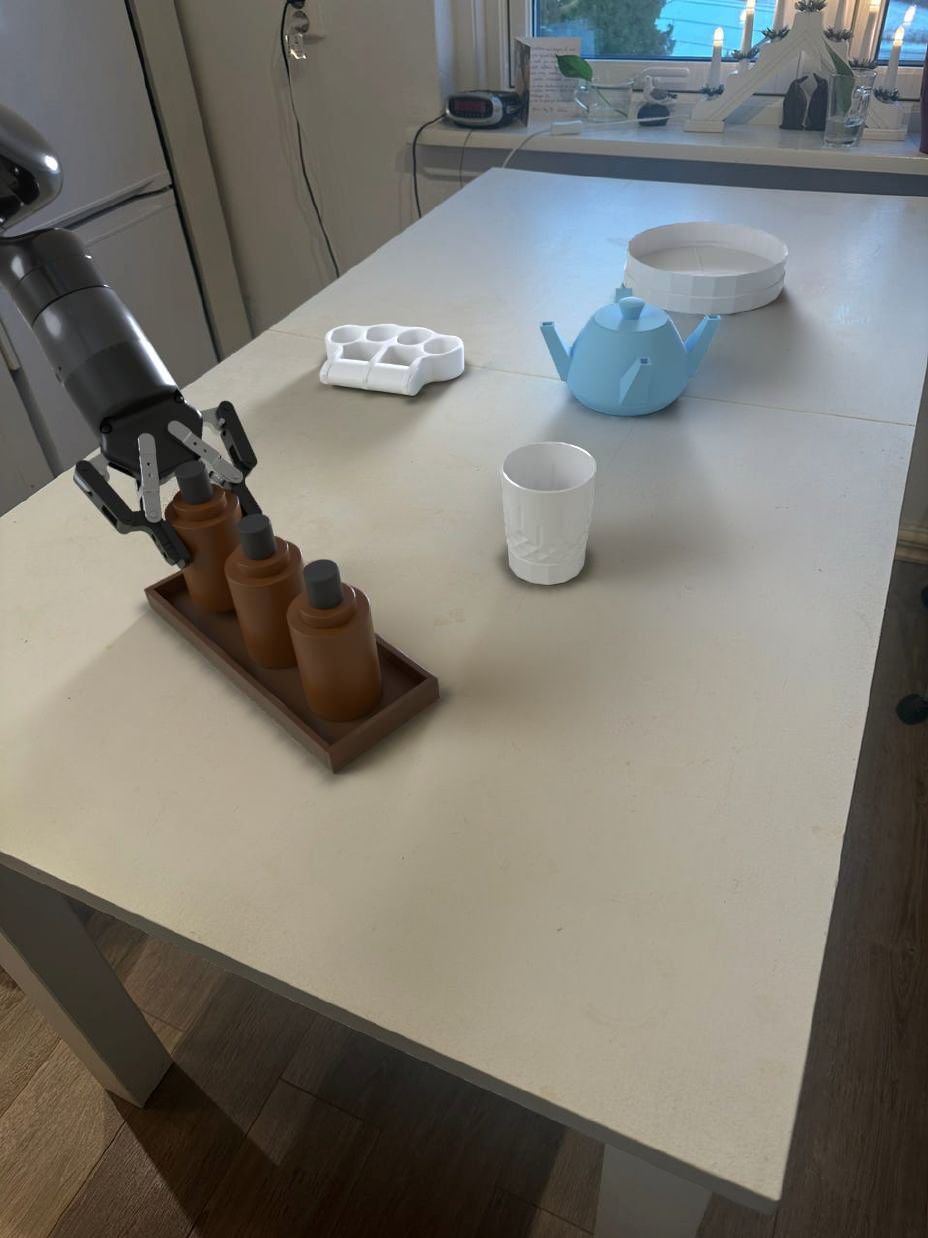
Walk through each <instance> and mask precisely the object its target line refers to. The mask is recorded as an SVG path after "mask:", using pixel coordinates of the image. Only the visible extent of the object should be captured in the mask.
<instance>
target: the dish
mask: <svg viewBox="0 0 928 1238" xmlns="http://www.w3.org/2000/svg"><path fill="white" fill-rule="evenodd" d="M788 254H789V252H788V246H787V245H786V243H785V242H784V241H783V240H782V239H781V238H779V237H777V236H775V235H773V234H771V233H770V232H767V231H764V230H761V229H758V228H755V227H751V226H746V225H742V224H736V223H727V222H718V221H717V222H716V221H689V222H677V223H671V224H664V225H660V226H656V227H655V226H654V227H652V228H649V229H648V228H647V229H646V230H644V231H642V232H640V233H638V234H635V235H634V236H633V237H632V238H631V239H630V240H629V241H628V244H627V248H626V261H625V264H624V268H623V270H624V271H623V287H624V288H632V293H633V297H637V298H641V299H643V300H644V301H645V304H650V305H653V306H656V307H659V308H661V309H662V310H664V311H668V312H674V313H681V314H687V315H704V316H705V315H731V314H736V313H741V312H747V311H752V310H756V309H758V308H761V307H764V306H767V305H768V304H770V303H772V302H773V301H774V300H777V298H778V297H779V296H780V294H781V292H782V291H783V286H784V281H785V276H786V264H787V259H788Z"/></svg>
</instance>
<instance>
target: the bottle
mask: <svg viewBox="0 0 928 1238" xmlns="http://www.w3.org/2000/svg"><path fill="white" fill-rule="evenodd" d="M175 479H176V482H177V486H178V488H179V490H178V491H177V492H176V493H175V494H174V496H173V498H172V499H171V500H170V501H169V503H167V505H166V507H165V509H164V512H163V513H164V514H163V515H164V520H166V519H168V520H169V522H170V523H171V525H172V527H173V528H174V530H175V531H176V533H177V534H178V536H179V538H180V539H181V541H182V542H183V544H184V545H185V547H186V549H187V550H188V552H189V553H190V555H191V557H192V559H193V562H192V563H191V564H190V566H188V567H186V568H184V569H182V571H183V574H184V577H185V580H186V584H187V587H188V590H189V593H190V596H191V599H192V601H193V603H194V604H195V605H196V606H197V607H199V608H201V609H203V610H206V611H212V612H222V611H229V610H232V609H235V605H234V602H233V598H232V595H231V591H230V588H229V585H228V581H227V578H226V574H225V571H224V567H225V563H226V560H227V559H228V557H229V556H230V555H231V554H232V553H233V552H234V551H235V549H236V548H237V546H238V545H239V544H241V539H240V536H239V532H238V528H237V525H238V522H239V521H240V520H241V519H242V518H243V515H242V512H241V508H240V504H239V500H238V497H237V496H236V495H235V494H234V493H233V492H232V491H230V490H227V489H224V488H222V487H221V486H219V485H217V484H214V483H213V482H211V481H210V477H209V474H208V470H207V467H206V465H205V464H204V463H203V462H200V461H189V462H185V463H183V464H181V465H179V466H178V467H177V468H176V469H175Z"/></svg>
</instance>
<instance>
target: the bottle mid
mask: <svg viewBox="0 0 928 1238" xmlns="http://www.w3.org/2000/svg"><path fill="white" fill-rule="evenodd" d="M237 528H238V532H239V536H240V539H241V544H239V545H238V546H237V548H236V549H235V551H234V552H233V553H232V554H231V555H230V556H229V557H228V559H227V560H226V563H225V567H224V571H225V574H226V578H227V581H228V585H229V588H230V591H231V595H232V598H233V602H234V605H235V609H236V612H237V616H238V619H239V622H240V626H241V629H242V633H243V636H244V640H245V643H246V647H247V650H248V654H249V656H250V658H251V659H252V660H253V661H254V662H255V663H256V664H258V665H260V666H262V667H265V668H269V669H285V668H290V667H294V666H296V665H298V663H297V659H296V654H295V650H294V646H293V642H292V638H291V634H290V630H289V625H288V621H287V611H288V608H289V606H290V604H291V602H292V601H293V600H294V599H295V598H296V597H297V596H298V595H300V594H301V593H302V592H303V591H304V590H305V589H306V586H305V582H304V577H303V569H304V568H305V566H306V565H305V561H304V557H303V553H302V551H301V549H300V548H299V547H298V546H297V545H296V544H295V543H293V542H291V541H289V540H287V539H286V540H285V539H283V538H282V537H280V536H277V535H275V534H274V529H273V525H272V520H271V518H270V517H269V516H267V515H266V514H252V515H248V516H246V517H244V518H242V519H241V520H240V521H239V522H238V525H237Z"/></svg>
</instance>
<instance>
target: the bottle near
mask: <svg viewBox="0 0 928 1238" xmlns="http://www.w3.org/2000/svg"><path fill="white" fill-rule="evenodd" d="M304 566H305V568H304V569H303V577H304V582H305V586H306V589H305V590H304V591H303V592H302V593H301V594H300V595H298V596H297V597H296V598H295V599H294V600H293V601H292V602H291V604H290V606H289V608H288V611H287V621H288V625H289V630H290V634H291V638H292V642H293V646H294V650H295V654H296V659H297V663H298V667H299V671H300V675H301V679H302V683H303V688H304V692H305V696H306V700H307V704H308V706H309V708H310V710H311V711H312V712H313V713H314V714H315V715H316V716H318V717H320V718H322V719H324V720H327V721H331V722H348V721H353V720H356V719H359V718H361V717H363V716H365V715H367V714H368V713H370V712H371V711H372V710H373V709H374V708H375V707H376V706H377V705H378V704H379V702H380V700H381V698H382V694H383V685H382V679H381V672H380V666H379V659H378V653H377V646H376V640H375V633H376V632H375V627H374V622H373V621H374V620H373V615H372V608H371V603H370V599H369V597H368V596H367V594H365V592H364V591H362V590H361V589H360V588H358V587H355V586H353V585H350V584H347V583H345V582H343V581H342V580H341V579H342V578H341V574H340V567H339V565H338V563H337V562H335V561H334V560H331V559H325V558H324V559H321V558H320V559H316V560H313V561H310V562H309V563H307V564H306V565H304ZM374 632H375V633H374Z"/></svg>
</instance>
